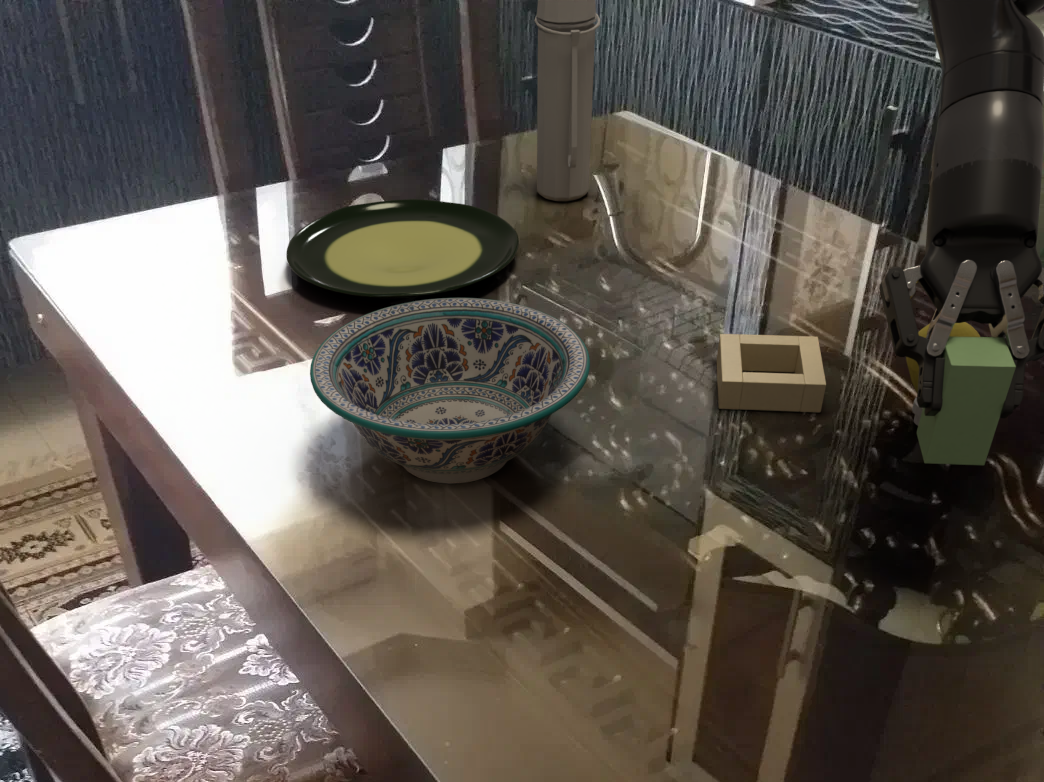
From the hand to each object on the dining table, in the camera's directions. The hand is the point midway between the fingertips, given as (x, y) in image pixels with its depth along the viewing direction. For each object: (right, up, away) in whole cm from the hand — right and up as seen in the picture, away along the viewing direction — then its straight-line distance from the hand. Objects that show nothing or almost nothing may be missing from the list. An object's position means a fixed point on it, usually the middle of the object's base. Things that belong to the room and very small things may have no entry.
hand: (968, 413), depth 84 cm
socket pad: (-7, +12, +32) cm, 35 cm away
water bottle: (-25, +49, +69) cm, 88 cm away
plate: (-45, +34, +55) cm, 79 cm away
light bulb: (+7, +7, +27) cm, 29 cm away
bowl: (-38, +3, +25) cm, 46 cm away
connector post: (0, -1, +4) cm, 4 cm away
